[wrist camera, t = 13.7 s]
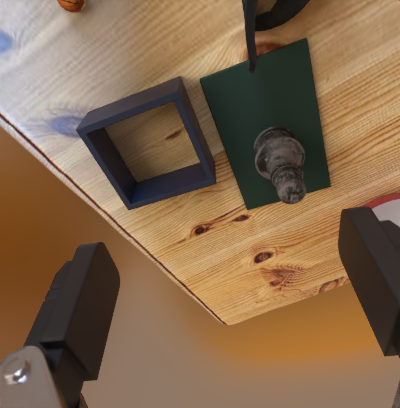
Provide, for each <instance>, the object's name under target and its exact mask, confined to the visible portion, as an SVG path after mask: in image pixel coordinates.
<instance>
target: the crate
mask: <svg viewBox="0 0 400 408" xmlns="http://www.w3.org/2000/svg"><path fill="white" fill-rule="evenodd" d="M172 101H174V102H175V105H176V107H177V109H178V112H179V114H180V116H181V119H182V121H183V123H184V126H185V128H186V130H187V133H188V135H189V137H190V139H191V142H192V144H193V146H194V149H195V151H196V153H197V156H198V158H199V160H200V163H197V164H194V165H191V166H188V167H185V168H182V169H179V170H176V171H173V172H169V173H166V174H163V175H160V176H157V177H154V178H151V179H148V180H145V181H142V182H139V183H137V182H136V180H135V179H134V177H133V175H132V174H131V172H130V170H129V169H128V167H127V165H126V164H125V162H124V160H123V159H122V157H121V155H120V154H119V152H118V150H117V149H116V147H115V145H114V144H113V142H112V140H111V138H110V137H109V135H108V133H107V132H106V130H105V128H104V127H105V126H108V125H110V124H113V123H116V122H118V121H121V120H124V119H126V118H129V117H132V116H134V115H137V114H140V113H142V112H145V111H148V110H150V109H153V108H156V107H158V106H161V105H164V104H166V103H169V102H172ZM76 131H77V132H78V134H79V136H80V137H81V138H82V140H83V141H84V143H85V144H86V146H87V147H88V149H89V151H90V152H91V154H92V155H93V157H94V158H95V160H96V161H97V163H98V164H99V166H100V167H101V169H102V170H103V172H104V173H105V175H106V177H107V178H108V180H109V181H110V183H111V184H112V186H113V187H114V189H115V190H116V192H117V193H118V195H119V196H120V198H121V199H122V201H123V203H124V204H125V206H126V207H127V209H128V210H132V209H135V208H138V207H141V206H145V205H148V204H151V203H155V202H158V201H161V200H164V199H168V198H171V197H174V196H177V195H181V194H184V193H187V192H190V191H194V190H197V189H200V188H203V187H207V186H210V185H213V184H216V172H215V162H214V159H213V157H212V154H211V152H210V149H209V147H208V144H207V142H206V139H205V137H204V134H203V132H202V129H201V127H200V124H199V122H198V119H197V117H196V114H195V112H194V109H193V107H192V104H191V102H190V99H189V97H188V94H187V92H186V89H185V87H184V84H183V82H182V79H181V77H180V76H179V77H177V78H174V79H172V80H169V81H166V82H164V83H161V84H159V85H156V86H154V87H151V88H149V89H146V90H144V91H141V92H138V93H136V94H133V95H131V96H128V97H126V98H123V99H121V100H118V101H116V102H113V103H110V104H108V105H105V106H103V107H100V108H98V109H95V110H93V111H90V112H88V113H87V115H86V116H85V118H84V119H83V121H82V122H81V123H80V125H79V126H78V128H77V129H76Z"/></svg>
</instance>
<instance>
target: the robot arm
mask: <svg viewBox="0 0 400 408" xmlns="http://www.w3.org/2000/svg"><path fill="white" fill-rule="evenodd" d="M338 249H339V255H340V258H341V261H342V264H343V266H344V268H345V270H346V272H347V275H348V277H349V279H350V281H351V283H352V286H353V288H354V290H355V292H356V294H357V297H358V299H359V301H360V303H361V305H362V307H363V310H364V312H365V314H366V316H367V319H368V321H369V323H370V325H371V327H372V330H373V332H374V334H375V336H376V339H377V341H378V343H379V345H380V347H381V349H382V352H383V354H384V356H394V355H398V356H399V358H400V227H399V226H398V225H396V224H395V223H393V222H392V221H390V220H384V221H379V220H378V218H377V217H376V215H375V213H374V212H373V210H372V209H371V208H370V207H369V206H363V207H356V208H349V209H343V210H342V212H341V219H340V229H339V239H338ZM119 288H120V276H119V272H118V269H117V267H116V265H115V263H114V261H113V259H112V258H111V256H110V254H109V252H108V250H107V248H106V246H105V244H104V243H103V242H97V243H90V244H83V245H80V246H79V247H78V248H77V250H76V253H75V255H74V257H73V260H72V261H68V262H66V263H65V264H64V265H63V267H62V268H61V269H60V270H59V271H58V272H57V273H56V275H55V277H54V280H53V282H52V284H51V286H50V290H49V291H48V293H47V295H46V297H45V301H44V302H43V304H42V306H41V308H40V311H39V313H38V315H37V317H36V320H35V322H34V324H33V326H32V329H31V331H30V333H29V335H28V337H27V340H26V342H25V344H24V346H23V347H21V348H19V349H17V350H15V351H13V352H12V353H10V354H9V355H8V356H7V357H5V358H4V359H3V360H2V362H1V363H0V408H88V406H87V404H86V402H85V400H84V397H83V395H82V393H81V389H82V386H83V382H84V381H90V380H97V378H98V374H99V370H100V366H101V362H102V358H103V354H104V349H105V345H106V341H107V337H108V333H109V329H110V325H111V320H112V316H113V312H114V308H115V304H116V300H117V296H118V292H119ZM392 408H400V381H399V384H398V388H397V391H396V395H395V398H394V402H393V406H392Z"/></svg>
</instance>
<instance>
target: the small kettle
mask: <svg viewBox="0 0 400 408" xmlns="http://www.w3.org/2000/svg"><path fill="white" fill-rule="evenodd" d="M57 1H58V3H59V4H60V5H61V7H63V8H64V9H65V10H67V11H70V12H78V11H80V10H82V9H83V8H84V7H85V4H86V0H57Z"/></svg>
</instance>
